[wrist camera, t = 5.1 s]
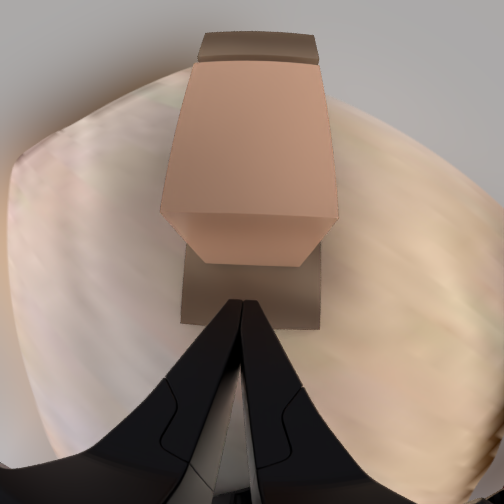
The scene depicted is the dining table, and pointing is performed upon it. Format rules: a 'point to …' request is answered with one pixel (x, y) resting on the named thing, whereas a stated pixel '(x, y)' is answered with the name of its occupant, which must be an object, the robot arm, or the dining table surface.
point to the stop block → (253, 276)
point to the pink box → (252, 164)
